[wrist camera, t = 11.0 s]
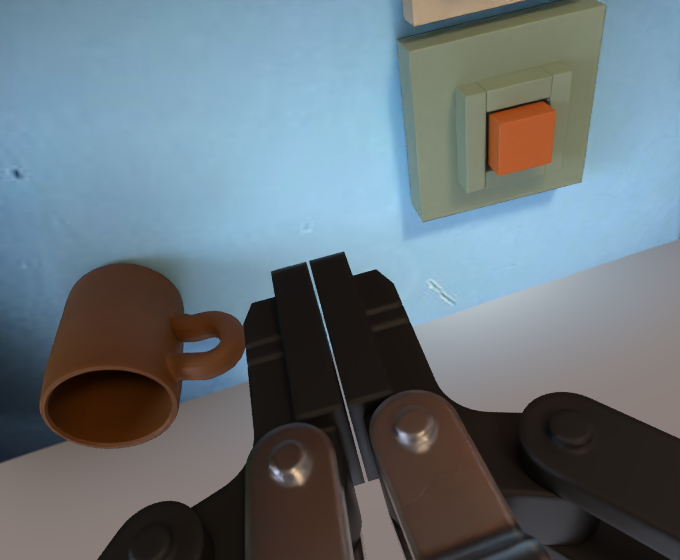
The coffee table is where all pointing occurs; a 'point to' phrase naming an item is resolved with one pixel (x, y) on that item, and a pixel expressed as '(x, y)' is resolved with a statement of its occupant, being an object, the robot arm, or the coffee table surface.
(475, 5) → the beige push button
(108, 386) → the mug
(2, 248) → the coffee table surface
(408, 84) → the green stepped square block
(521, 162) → the key
